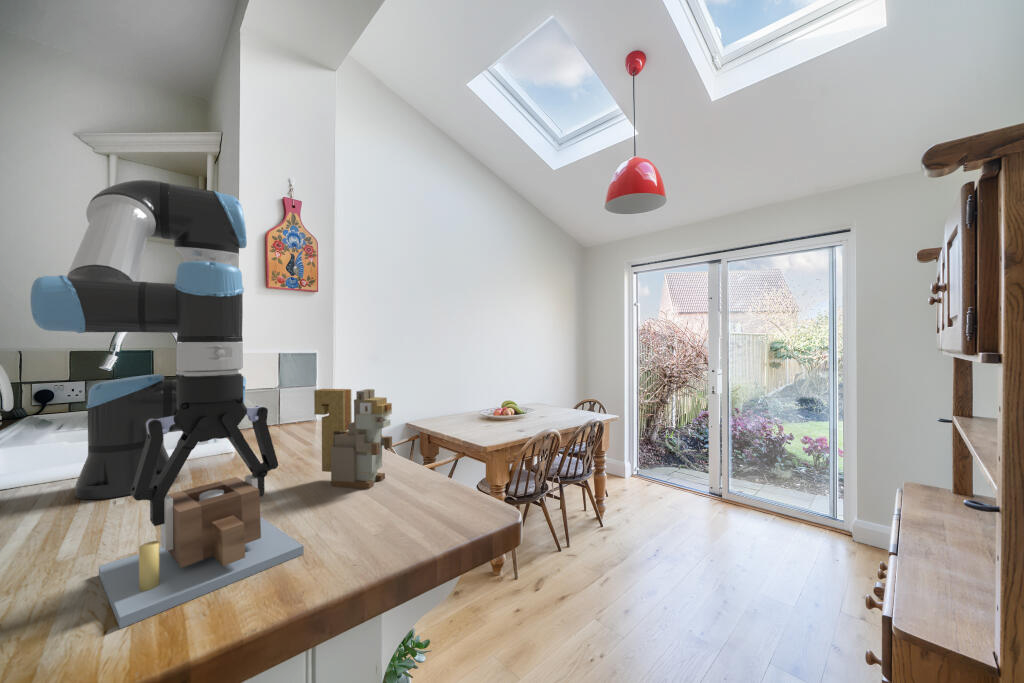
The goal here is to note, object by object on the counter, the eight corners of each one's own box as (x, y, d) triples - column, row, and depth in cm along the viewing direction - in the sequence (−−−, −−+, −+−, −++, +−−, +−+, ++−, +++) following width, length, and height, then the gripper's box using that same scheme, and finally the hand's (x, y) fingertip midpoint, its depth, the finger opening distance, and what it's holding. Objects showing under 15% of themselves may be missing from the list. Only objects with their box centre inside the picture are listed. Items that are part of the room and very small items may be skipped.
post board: (98, 575, 53) (98, 505, 53) (259, 523, 67) (259, 468, 67) (120, 628, 43) (119, 542, 43) (303, 553, 58) (303, 489, 58)
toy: (382, 489, 82) (381, 392, 82) (309, 484, 86) (308, 391, 86) (397, 479, 89) (396, 389, 89) (328, 474, 92) (328, 387, 92)
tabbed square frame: (163, 545, 56) (161, 495, 56) (238, 521, 63) (236, 477, 63) (190, 579, 48) (188, 520, 48) (272, 546, 55) (270, 495, 55)
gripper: (105, 380, 46) (106, 578, 46) (303, 369, 63) (304, 513, 63) (96, 377, 50) (97, 556, 50) (282, 368, 67) (283, 501, 67)
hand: (212, 532), depth 56 cm, fingers closed on tabbed square frame, 9 cm apart
